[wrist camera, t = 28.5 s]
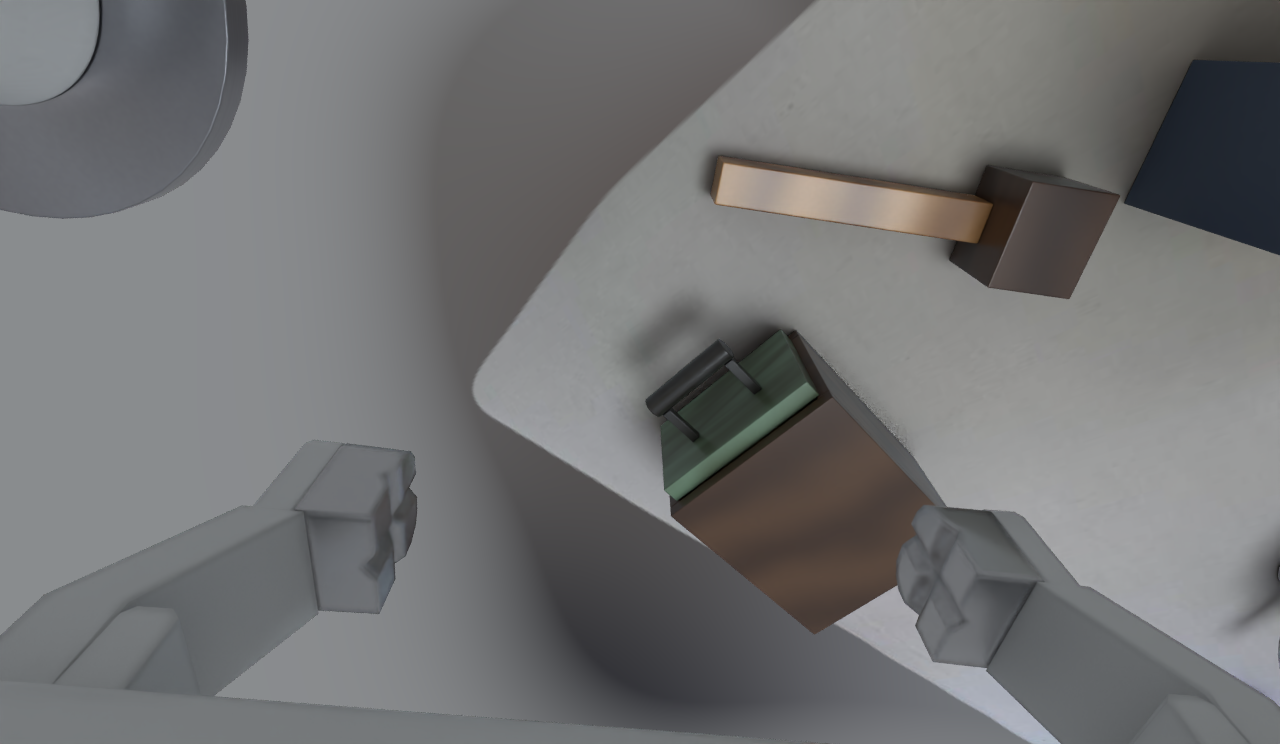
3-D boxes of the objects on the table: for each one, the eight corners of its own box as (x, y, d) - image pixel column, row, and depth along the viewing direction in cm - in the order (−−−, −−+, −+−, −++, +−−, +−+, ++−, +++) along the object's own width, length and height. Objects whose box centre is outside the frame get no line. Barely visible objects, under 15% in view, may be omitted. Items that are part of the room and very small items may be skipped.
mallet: (704, 224, 39) (712, 248, 35) (724, 123, 37) (736, 134, 32) (1022, 271, 41) (1069, 299, 36) (1065, 177, 38) (1121, 194, 34)
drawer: (618, 389, 44) (615, 449, 37) (739, 285, 40) (759, 332, 34) (777, 530, 50) (798, 603, 43) (894, 450, 46) (936, 517, 40)
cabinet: (664, 434, 47) (670, 516, 38) (795, 329, 43) (832, 396, 35) (786, 542, 51) (814, 635, 43) (913, 457, 48) (970, 542, 40)
